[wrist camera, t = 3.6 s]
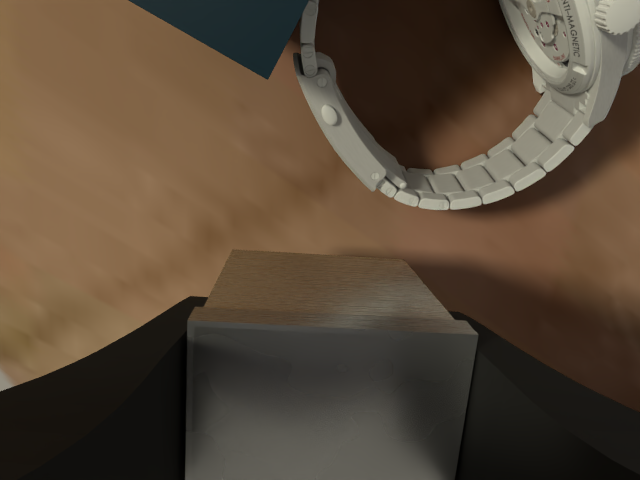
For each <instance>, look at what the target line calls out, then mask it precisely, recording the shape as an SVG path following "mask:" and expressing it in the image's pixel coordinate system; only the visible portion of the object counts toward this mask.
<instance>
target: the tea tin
mask: <svg viewBox="0 0 640 480" xmlns="http://www.w3.org/2000/svg"><path fill="white" fill-rule="evenodd" d="M477 341H478V334H477V332H476V331H475V330H474V329H473V328H472V327H471V326H470V325H469V324H468V322H467V321H465V320H455V319H454V318H453V317H452V316H451V315H450V314H449V312H448V311H447V310H446V309H445V308H444V306H443V305H442V304H441V303H440V302H439V301H438V299H437V298H436V297H435V296H434V295H433V293H432V292H431V291H430V290H429V289H428V288H427V286H426V285H425V284H424V283H423V282H422V280H421V279H420V278H419V277H418V276H417V275H416V273H415V272H414V271H413V270H412V269H411V267H410V266H409V265H408V264H407V263H406V261H405V260H402V259H385V258H369V257H352V256H335V255H319V254H302V253H285V252H269V251H252V250H235V249H233V250H232V252H231V254H230V255H229V257H228V259H227V261H226V263H225V265H224V267H223V269H222V271H221V273H220V275H219V277H218V279H217V281H216V283H215V285H214V287H213V289H212V291H211V293H210V295H209V297H208V299H207V301H206V303H205V305H204V307H195V308H194V309H193V311H192V313H191V315H190V317H189V318H188V320H187V385H186V456H185V480H455V475H456V469H457V463H458V457H459V451H460V444H461V438H462V432H463V426H464V420H465V414H466V408H467V402H468V396H469V390H470V383H471V377H472V371H473V365H474V359H475V353H476V347H477Z"/></svg>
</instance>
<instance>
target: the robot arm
mask: <svg viewBox="0 0 640 480" xmlns="http://www.w3.org/2000/svg"><path fill="white" fill-rule="evenodd" d="M207 299H208V297H194V296H190V297H188V298H186V299H184V300H182V301H181V302H179V303H178V304H176V305H174V306H173V307H171V308H170V309H168V310H167V311H165V312H163V313H162V314H160V315H159V316H157V317H156V318H154V319H152V320H151V321H149V322H148V323H146V324H144V325H143V326H141V327H140V328H138V329H136V330H135V331H133V332H131V333H129V334H127V335H126V336H124V337H122V338H120V339H118V340H117V341H115V342H113V343H111V344H109V345H108V346H106V347H104V348H102V349H100V350H99V351H97V352H95V353H93V354H91V355H89V356H87V357H85V358H83V359H80V360H78V361H76V362H74V363H72V364H70V365H67V366H65V367H63V368H60V369H58V370H56V371H54V372H51V373H49V374H47V375H44V376H42V377H39V378H36V379H34V380H31V381H28V382H25V383H23V384H20V385H17V386H14V387H11V388H9V389H6V390H3V391H1V392H0V480H185V456H186V385H187V320H188V318H189V317H190V315H191V313H192V311H193V309H194V308H195V307H204V305H205V303H206V301H207ZM448 312H449V314H450V315H451V316H452V317H453V318H454V319H455V320H465V321H467V322H468V324H469V325H470V326H471V327H472V328H473V329H474V330H475V331H476V332H477V334H478V341H477V347H476V353H475V359H474V365H473V371H472V377H471V383H470V390H469V396H468V402H467V408H466V414H465V420H464V426H463V432H462V438H461V444H460V451H459V457H458V463H457V469H456V475H455V480H640V412H637V411H635V410H633V409H631V408H628V407H626V406H624V405H622V404H620V403H618V402H615V401H613V400H611V399H609V398H607V397H605V396H603V395H601V394H599V393H597V392H595V391H593V390H591V389H589V388H587V387H585V386H583V385H581V384H579V383H577V382H575V381H573V380H571V379H570V378H568V377H566V376H564V375H563V374H561V373H559V372H557V371H556V370H554V369H552V368H550V367H548V366H547V365H545V364H543V363H542V362H540V361H538V360H537V359H535V358H533V357H532V356H530V355H528V354H527V353H525V352H524V351H522V350H520V349H519V348H517V347H516V346H514V345H512V344H511V343H509V342H508V341H506V340H505V339H503V338H502V337H500V336H498V335H497V334H495V333H494V332H492V331H491V330H489V329H488V328H486V327H484V326H483V325H481V324H480V323H478V322H476V321H475V320H473V319H471V318H470V317H468V316H466V315H464V314H462V313H460V312H452V311H448Z"/></svg>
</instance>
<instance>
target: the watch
mask: <svg viewBox="0 0 640 480" xmlns="http://www.w3.org/2000/svg"><path fill="white" fill-rule="evenodd" d="M129 1H130V2H132V3H134V4H136V5H137V6H139V7H141V8H143V9H144V10H146V11H148V12H150V13H151V14H153V15H155V16H157V17H158V18H160V19H162V20H164V21H166V22H167V23H169V24H171V25H173V26H174V27H176V28H178V29H180V30H181V31H183V32H185V33H187V34H188V35H190V36H192V37H194V38H195V39H197V40H199V41H201V42H202V43H204V44H206V45H208V46H209V47H211V48H213V49H215V50H216V51H218V52H220V53H222V54H223V55H225V56H227V57H229V58H230V59H232V60H234V61H236V62H237V63H239V64H241V65H243V66H244V67H246V68H248V69H250V70H251V71H253V72H255V73H257V74H258V75H260V76H262V77H264V78H265V79H267V80H268V78H269V77H270V75H271V73H272V71H273V69H274V67H275V65H276V63H277V61H278V59H279V57H280V55H281V53H282V52H283V50H284V48H285V46H286V44H287V42H288V40H289V38H290V36H291V34H292V32H293V30H294V28H295V27H296V25H297V23H298V21H299V24H300V46H301V54H299V53H294V54H293V60H294V67H295V71H296V76H297V78H298V81H299V84H300V86H301V88H302V91H303V93H304V95H305V98H306V100H307V102H308V104H309V106H310V108H311V110H312V112H313V114H314V116H315V118H316V120H317V122H318V124H319V126H320V127H321V129H322V131H323V133H324V134H325V136H326V137H327V139H328V141H329V142H330V144H331V145H332V147H333V148H334V150H335V151H336V152H337V154H338V155H339V156H340V157H341V159H342V160H343V161H344V162H345V164H346V165H347V166H348V167H349V168H350V169H351V171H352V172H353V173H354V174H355V175H356V176H357V177H358V178H359V179H360V180H361V181H362V182H363V183H364V184H365V185H366V186H367V187H368V188H369V189H370V190H371V191H372V192H373V191H375V189H376V188H378V189H379V190H380V191H381V192H382V193H384V194H385V195H387V196H388V197H394V199H395V200H397V201H399V202H401V203H404V204H407V205H410V206H414V207H415V206H417V205H418V207H420V208H424V209H432V210H447V209H448V208H449V207H450V209H452V210H455V209H464V208H471V207H475V206H479V205H481V204H482V203H483V204H488V203H492V202H495V201H498V200H501V199H504V198H506V197H508V196H511V195H513V194H514V192H515V191H520V190H522V189H524V188H526V187H528V186H530V185H532V184H533V183H535V182H537V181H538V180H540V179H541V178H543V177H544V176H545V175H546V172H550V171H551V170H553V169H554V168H555V167H556V166H558V165H559V164H560V163H561V162H562V161H563V160H564V159H565V158H567V157H568V156H569V155H570V154H571V153H572V151H573V150H574V146H576V145H578V144H579V143H580V142H581V141H582V140H583V139H584V138H585V137H586V136H587V134H588V133H589V132H590V131H591V129H592V128H593V127H594V125H595V124H597V123H599V122H601V121H603V120H604V119H605V118H606V116H607V114H608V112H609V110H610V108H611V105H612V103H613V101H614V98H615V96H616V93H617V90H618V87H619V84H620V80H621V76H623V75H625V74H628V73H629V72H631V71H632V70H633V69H635V67H637V65H638V64H639V62H640V0H499V3H500V6H501V9H502V12H503V14H504V17H505V19H506V22H507V24H508V27H509V29H510V31H511V33H512V35H513V37H514V39H515V41H516V43H517V45H518V47H519V49H520V50H521V52H522V54H523V55H524V57H525V58H526V60H527V61H528V63H529V64H530V65H531V67H532V73H533V84H534V86H535V89H536V91H537V92H539V93H543V92H544V94H543V96H542V98H541V99H540V101H539V102H538V104H537V105H536V106H535V108H534V114H535V115H537V116H538V117H536V116H534V115H529V116H528V117H527V118H526V119H525V120H524V121H523V122H522V124H521V125H520V126H519V127H518V128H517V129H516V130H515V131H514V132H513V134H512V137H513V139H514V140H515V141H514V140H513V139H512V138H511V137H508V138H506V139H504V140H503V141H502V142H500V143H499V144H498V145H496V146H495V147H493V148H492V149H490V150H489V151H488V157H489V158H488V157H487V156H486V155H485V154H481V155H479V156H476V157H474V158H472V159H470V160H467V161H465V162H463V163H462V164H461V168H460V167H459V166H458V165H452V166H448V167H443V168H438V169H435V170H434V172H432V171H431V170H430V169H416V168H409V169H408V170H407V171H406V169H405V167H404V166H401V165H399V164H398V162H397V160H396V158H395V157H394V156H393V155H391V154H390V153H388V152H387V151H386V150H385V149H383V148H382V147H381V146H380V145H379V144H378V143H377V142H376V141H375V139H374V137H373V136H372V135H371V134H370V133H369V131H368V130H367V129H366V128H365V127H364V126H363V124H362V123H361V122H360V121H359V119H358V118H357V117H356V115H355V114H354V113H353V111H352V110H351V108H350V107H349V105H348V104H347V102H346V101H345V99H344V97H343V95H342V93H341V92H340V90H339V88H338V86H337V84H336V70H335V66H334V63H333V61H332V59H331V58H330V57H329V56H327V55H325V54H323V53H321V52H315V43H314V38H315V27H316V20H317V14H318V3H319V0H129ZM299 19H300V20H299ZM539 131H540V132H541V133H542V134H543V135H542V134H541V133H540V132H539ZM544 135H545V136H546V137H547V138H548V139H549V140H550V141H549V140H548V139H547V138H546V137H545V136H544ZM567 140H568V141H569V142H570V143H572V144H573V145H574V146H572V145H571V144H570V143H569V142H567ZM551 141H552V142H553V143H552V142H551ZM513 153H514V154H515V155H516V156H517V157H518V158H519V159H520V160H521V161H522V162H523V163H524V164H525V165H526V166H524V165H523V163H522V162H521V161H520V160H519V159H518V158H517V157H516V156H515V155H514V154H513ZM540 166H541V167H542V168H543V169H544V170H545V171H546V172H545V171H544V170H543V169H542V168H541V167H540ZM487 172H488V173H489V174H488V173H487ZM491 177H492V178H493V179H492V178H491ZM494 181H495V182H494ZM513 188H514V189H515V191H514V189H513Z"/></svg>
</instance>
